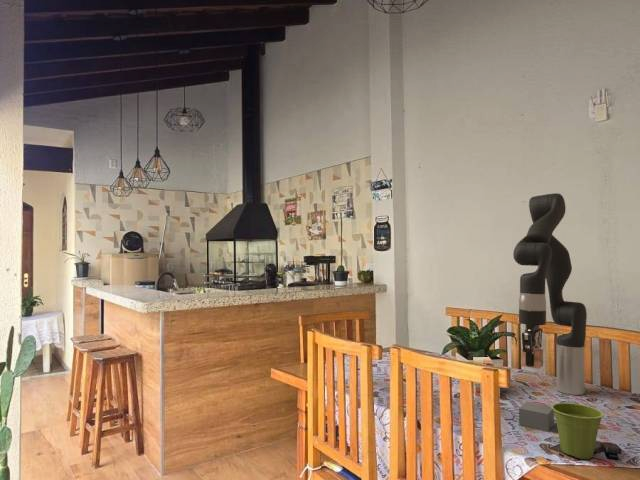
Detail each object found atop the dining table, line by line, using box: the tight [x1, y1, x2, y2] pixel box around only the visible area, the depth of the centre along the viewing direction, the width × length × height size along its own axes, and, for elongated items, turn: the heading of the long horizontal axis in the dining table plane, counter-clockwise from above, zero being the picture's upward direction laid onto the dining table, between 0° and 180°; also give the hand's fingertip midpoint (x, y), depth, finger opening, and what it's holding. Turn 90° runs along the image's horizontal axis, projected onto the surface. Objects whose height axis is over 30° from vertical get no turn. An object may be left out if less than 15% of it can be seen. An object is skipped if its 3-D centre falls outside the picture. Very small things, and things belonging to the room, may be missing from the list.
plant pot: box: [550, 402, 604, 460], centre depth 119 cm, size 12×12×11 cm
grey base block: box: [518, 401, 555, 432], centre depth 139 cm, size 8×8×5 cm
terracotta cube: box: [520, 346, 544, 369], centre depth 141 cm, size 5×5×5 cm
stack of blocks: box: [473, 356, 495, 397], centre depth 176 cm, size 21×6×12 cm, turn 170°
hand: (532, 364), depth 140 cm, fingers closed on terracotta cube, 5 cm apart
